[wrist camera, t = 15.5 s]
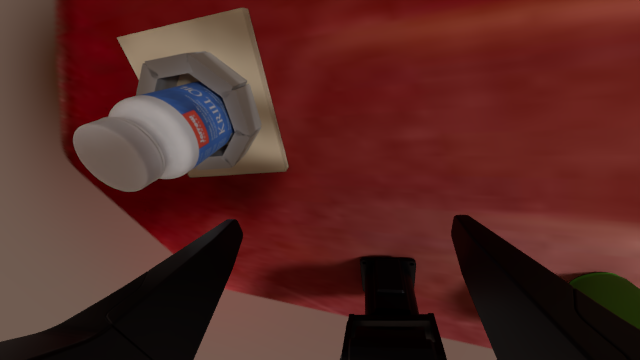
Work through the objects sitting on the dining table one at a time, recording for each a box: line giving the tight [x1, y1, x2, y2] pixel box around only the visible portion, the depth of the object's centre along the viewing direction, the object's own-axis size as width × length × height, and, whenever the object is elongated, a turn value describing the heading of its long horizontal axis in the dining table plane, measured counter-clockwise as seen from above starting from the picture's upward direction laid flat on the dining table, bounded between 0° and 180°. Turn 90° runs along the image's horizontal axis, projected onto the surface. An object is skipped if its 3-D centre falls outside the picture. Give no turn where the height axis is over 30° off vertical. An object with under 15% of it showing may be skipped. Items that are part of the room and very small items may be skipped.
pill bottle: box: [73, 81, 235, 192], centre depth 16 cm, size 6×5×10 cm
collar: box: [117, 8, 289, 178], centre depth 20 cm, size 13×11×4 cm
